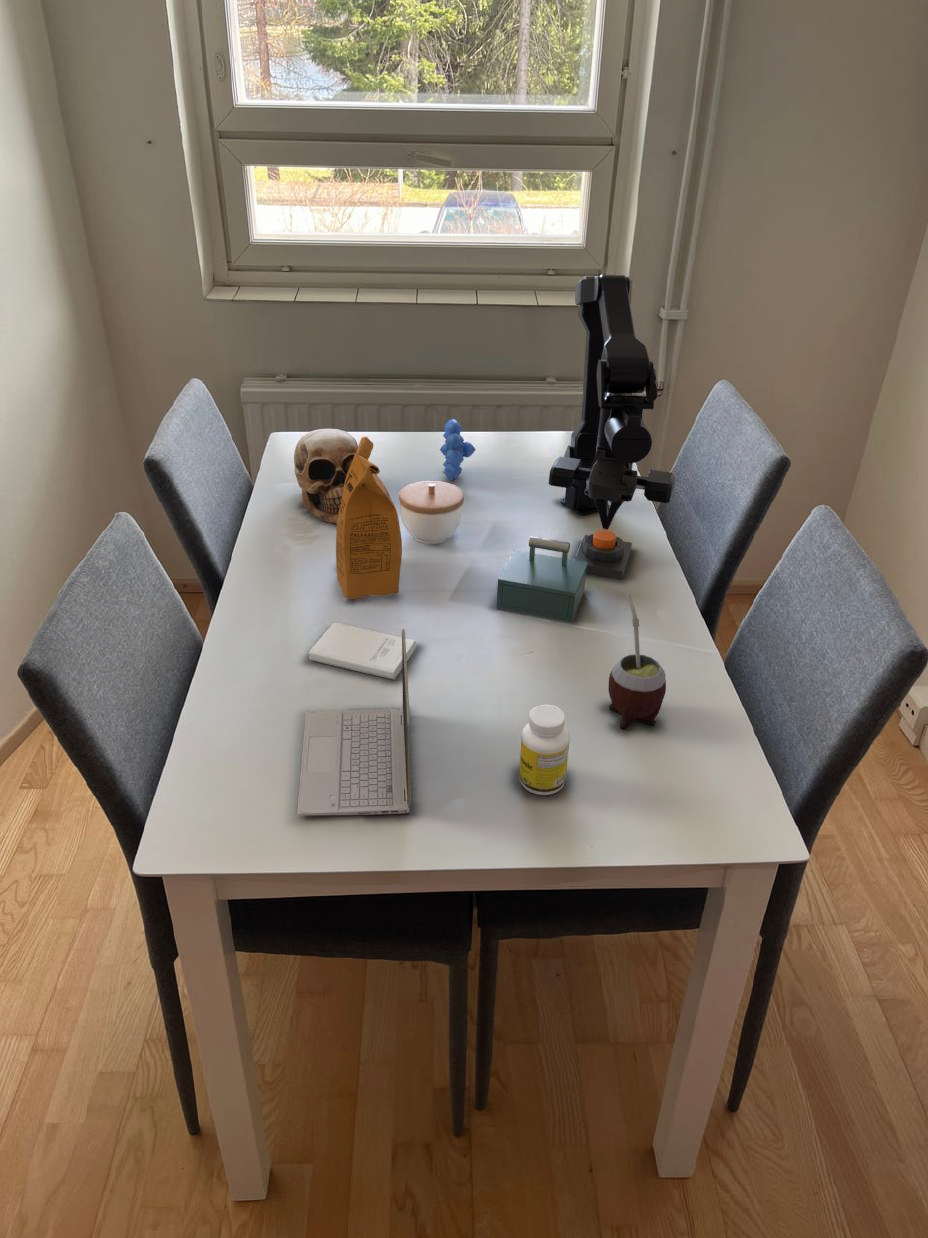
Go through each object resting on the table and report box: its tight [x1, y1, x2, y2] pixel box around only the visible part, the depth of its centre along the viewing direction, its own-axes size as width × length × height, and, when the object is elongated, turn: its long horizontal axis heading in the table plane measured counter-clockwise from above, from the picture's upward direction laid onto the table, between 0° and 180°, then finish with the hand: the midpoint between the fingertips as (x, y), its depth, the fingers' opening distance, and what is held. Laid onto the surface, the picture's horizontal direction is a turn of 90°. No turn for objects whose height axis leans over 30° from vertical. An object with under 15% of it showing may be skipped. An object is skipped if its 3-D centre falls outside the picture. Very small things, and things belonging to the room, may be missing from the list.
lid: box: [497, 536, 588, 597], centre depth 139 cm, size 9×12×4 cm
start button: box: [593, 529, 617, 549], centre depth 151 cm, size 4×4×2 cm
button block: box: [573, 533, 633, 581], centre depth 152 cm, size 10×8×4 cm
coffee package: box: [335, 436, 403, 600], centre depth 140 cm, size 10×12×22 cm
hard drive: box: [308, 622, 417, 680], centre depth 129 cm, size 2×8×12 cm
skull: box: [293, 428, 359, 525], centre depth 167 cm, size 16×17×13 cm
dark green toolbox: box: [496, 571, 587, 623], centre depth 142 cm, size 9×12×4 cm
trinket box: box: [398, 480, 465, 545], centre depth 157 cm, size 11×11×9 cm
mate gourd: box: [608, 593, 667, 731], centre depth 116 cm, size 8×8×15 cm
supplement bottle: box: [518, 704, 570, 796], centre depth 107 cm, size 5×5×10 cm
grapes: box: [439, 418, 477, 481], centre depth 175 cm, size 12×7×12 cm, turn 3°
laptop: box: [296, 628, 412, 817], centre depth 108 cm, size 18×12×13 cm
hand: (605, 528), depth 150 cm, fingers closed
